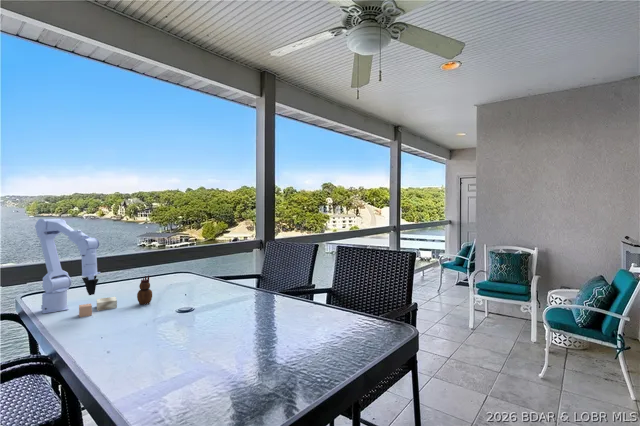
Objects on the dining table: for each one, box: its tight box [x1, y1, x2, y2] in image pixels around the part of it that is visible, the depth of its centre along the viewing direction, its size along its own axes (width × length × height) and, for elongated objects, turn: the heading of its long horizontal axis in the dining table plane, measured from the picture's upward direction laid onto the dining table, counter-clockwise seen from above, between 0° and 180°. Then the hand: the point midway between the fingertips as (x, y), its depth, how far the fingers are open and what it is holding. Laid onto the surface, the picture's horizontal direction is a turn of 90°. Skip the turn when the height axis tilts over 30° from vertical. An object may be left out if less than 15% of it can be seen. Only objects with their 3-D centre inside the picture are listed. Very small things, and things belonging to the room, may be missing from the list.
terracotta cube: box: [78, 303, 93, 318], centre depth 149 cm, size 4×4×4 cm
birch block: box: [96, 296, 118, 312], centre depth 161 cm, size 8×8×4 cm
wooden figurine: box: [136, 274, 153, 306], centre depth 167 cm, size 7×6×15 cm
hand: (90, 293), depth 150 cm, fingers open, 7 cm apart
